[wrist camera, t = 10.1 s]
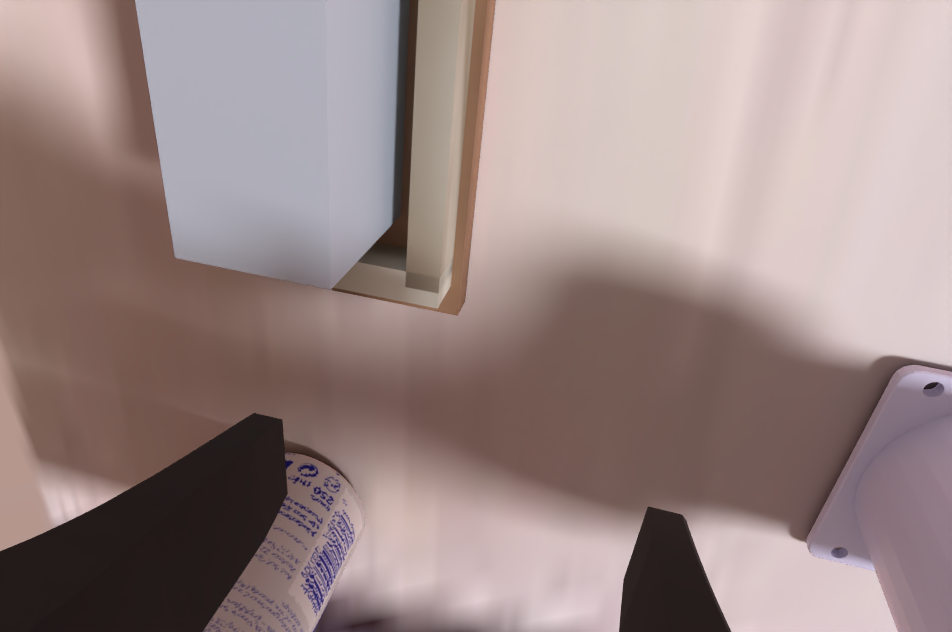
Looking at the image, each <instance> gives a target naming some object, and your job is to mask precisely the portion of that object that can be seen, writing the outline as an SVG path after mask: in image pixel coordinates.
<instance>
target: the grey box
mask: <svg viewBox="0 0 952 632" xmlns="http://www.w3.org/2000/svg"><path fill="white" fill-rule="evenodd" d="M135 4H136V10H137V17H138V23H139V29H140V36H141V42H142V49H143V55H144V62H145V68H146V75H147V81H148V88H149V94H150V100H151V107H152V113H153V120H154V126H155V133H156V139H157V146H158V152H159V158H160V165H161V171H162V178H163V184H164V191H165V197H166V204H167V210H168V216H169V223H170V229H171V236H172V242H173V249H174V255H175V258H177V259H182V260H187V261H192V262H197V263H202V264H207V265H211V266H216V267H221V268H226V269H231V270H236V271H241V272H245V273H250V274H255V275H260V276H265V277H270V278H275V279H279V280H284V281H289V282H294V283H299V284H304V285H309V286H313V287H318V288H323V289H328V290H331V289H332V288H333V287H334V286H335V285H336V284H337V283H338V282H339V281H340V279H341V278H342V277H343V276H344V275H345V274H346V273H347V272H348V271H349V270H350V269H351V268H352V267H353V266H354V265H355V264H356V262H357V261H358V260H359V259H360V258H361V257H362V256H363V255H364V254H365V253H366V252H367V251H368V250H369V249H370V248H371V247H372V245H373V244H374V243H375V242H376V241H377V240H378V239H379V238H380V237H381V236H382V235H383V234H384V233H385V232H386V231H387V229H388V228H389V227H390V226H391V225H392V224H393V223H394V222H395V221H396V220H397V219H398V218H399V217H400V216H401V195H402V172H403V148H404V124H405V101H406V77H407V53H408V29H409V6H410V0H135Z"/></svg>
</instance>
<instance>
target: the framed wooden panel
mask: <svg viewBox="0 0 952 632" xmlns="http://www.w3.org/2000/svg"><path fill="white" fill-rule="evenodd" d="M494 10H495V0H410V6H409V29H408V53H407V77H406V101H405V124H404V148H403V172H402V195H401V216H400V217H399V218H398V219H397V220H396V221H395V222H394V223H393V224H392V225H391V226H390V227H389V228H388V229H387V231H386V232H385V233H384V234H383V235H382V236H381V237H380V238H379V239H378V240H377V241H376V242H375V243H374V244H373V245H372V247H371V248H370V249H369V250H368V251H367V252H366V253H365V254H364V255H363V256H362V257H361V258H360V259H359V260H358V261H357V262H356V264H355V265H354V266H353V267H352V268H351V269H350V270H349V271H348V272H347V273H346V274H345V275H344V276H343V277H342V278H341V279H340V281H339V282H338V283H337V284H336V285H335V286H334V287H333V288H332V289H331V290H334V291H339V292H344V293H349V294H354V295H359V296H364V297H369V298H374V299H378V300H383V301H388V302H393V303H398V304H403V305H408V306H413V307H418V308H423V309H428V310H433V311H437V312H442V313H447V314H452V315H458V314H459V312H460V310H461V308H462V306H463V304H464V302H465V296H466V286H467V276H468V267H469V257H470V247H471V237H472V227H473V217H474V207H475V198H476V188H477V178H478V168H479V158H480V148H481V138H482V129H483V119H484V109H485V99H486V89H487V79H488V69H489V60H490V50H491V40H492V30H493V20H494Z"/></svg>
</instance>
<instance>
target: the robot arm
mask: <svg viewBox="0 0 952 632" xmlns="http://www.w3.org/2000/svg"><path fill="white" fill-rule="evenodd" d="M932 382H939V384H938V385H937V386H936V387H934V388H932V389H924V387H925V386H926V385H927V384H929V383H932ZM287 494H288V490H287V476H286V463H285V449H284V435H283V422H282V420H281V419H277V418H273V417H269V416H265V415H260V414H256V413H254V414H252V415H250V416H249V417H247V418H245V419H244V420H242V421H240V422H239V423H237V424H236V425H234V426H233V427H231V428H229V429H228V430H226V431H225V432H223V433H221V434H220V435H218V436H217V437H215V438H214V439H212V440H210V441H209V442H207V443H206V444H204V445H202V446H201V447H199V448H198V449H196V450H195V451H193V452H191V453H190V454H188V455H187V456H185V457H183V458H182V459H180V460H178V461H177V462H175V463H173V464H172V465H170V466H169V467H167V468H165V469H164V470H162V471H160V472H159V473H157V474H155V475H154V476H152V477H150V478H148V479H147V480H145V481H143V482H141V483H139V484H138V485H136V486H134V487H132V488H130V489H129V490H127V491H125V492H123V493H122V494H120V495H118V496H116V497H114V498H113V499H111V500H109V501H107V502H105V503H104V504H102V505H100V506H98V507H96V508H94V509H92V510H90V511H88V512H86V513H84V514H82V515H80V516H78V517H76V518H74V519H72V520H70V521H68V522H66V523H64V524H62V525H60V526H57V527H55V528H53V529H51V530H49V531H47V532H45V533H43V534H40V535H38V536H36V537H34V538H32V539H29V540H27V541H24V542H22V543H19V544H17V545H15V546H12V547H10V548H7V549H5V550H2V551H0V632H203V630H204V629H205V628H206V626H207V625H208V623H209V622H210V620H211V619H212V617H213V616H214V614H215V613H216V611H217V610H218V608H219V607H220V605H221V604H222V602H223V601H224V600H225V598H226V597H227V595H228V594H229V592H230V591H231V589H232V588H233V586H234V585H235V583H236V582H237V580H238V579H239V577H240V576H241V574H242V573H243V571H244V570H245V568H246V567H247V565H248V564H249V562H250V561H251V559H252V558H253V556H254V555H255V553H256V552H257V550H258V549H259V547H260V546H261V544H262V543H263V541H264V540H265V538H266V536H267V534H268V532H269V530H270V528H271V526H272V524H273V523H274V521H275V519H276V517H277V515H278V513H279V511H280V509H281V507H282V504H283V502H284V500H285V498H286V496H287ZM806 543H807V547H808V550H809V552H810V553H811V554H812V555H813V556H816V557H818V558H822V559H826V560H830V561H835V562H839V563H843V564H847V565H851V566H855V567H860V568H864V569H868V570H872V571H876V574H877V576H878V579H879V582H880V584H881V587H882V590H883V592H884V595H885V598H886V600H887V603H888V606H889V609H890V611H891V614H892V617H893V619H894V622H895V625H896V627H897V630H898V632H952V372H951V371H946V370H940V369H935V368H930V367H925V366H920V365H909V366H905V367H902V368H900V369H899V370H897V371H896V372H895V373H894V375H893V376H892V378H891V380H890V382H889V383H888V385H887V387H886V389H885V391H884V393H883V395H882V397H881V399H880V400H879V402H878V404H877V406H876V408H875V410H874V412H873V414H872V416H871V417H870V419H869V421H868V423H867V425H866V427H865V429H864V431H863V433H862V435H861V436H860V438H859V440H858V442H857V444H856V446H855V448H854V450H853V452H852V453H851V455H850V457H849V459H848V461H847V463H846V465H845V467H844V469H843V470H842V472H841V474H840V476H839V478H838V480H837V482H836V484H835V486H834V487H833V489H832V491H831V493H830V495H829V497H828V499H827V501H826V503H825V505H824V506H823V508H822V510H821V512H820V514H819V516H818V518H817V520H816V522H815V523H814V525H813V527H812V529H811V531H810V533H809V535H808V537H807V540H806ZM837 547H842V548H841V549H834V548H837ZM619 632H731V630H730V628H729V626H728V624H727V621H726V619H725V617H724V615H723V613H722V611H721V608H720V606H719V604H718V602H717V600H716V597H715V595H714V593H713V590H712V588H711V585H710V583H709V581H708V578H707V576H706V573H705V571H704V568H703V566H702V563H701V561H700V558H699V555H698V553H697V550H696V547H695V545H694V542H693V539H692V536H691V533H690V531H689V528H688V524H687V521H686V520H685V518H684V517H683V515H681V514H677V513H673V512H669V511H664V510H660V509H656V508H652V507H648V508H647V511H646V514H645V517H644V520H643V523H642V526H641V529H640V532H639V535H638V538H637V541H636V544H635V547H634V550H633V553H632V556H631V559H630V562H629V565H628V568H627V571H626V574H625V577H624V582H623V593H622V604H621V616H620V628H619Z"/></svg>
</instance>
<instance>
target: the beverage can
mask: <svg viewBox="0 0 952 632" xmlns="http://www.w3.org/2000/svg"><path fill="white" fill-rule="evenodd" d="M285 463H286V476H287V490H288V494H287V496H286V498H285V500H284V502H283V504H282V507H281V509H280V511H279V513H278V515H277V517H276V519H275V521H274V523H273V524H272V526H271V528H270V530H269V532H268V534H267V536H266V538H265V540H264V541H263V543H262V544H261V546H260V547H259V549H258V550H257V552H256V553H255V555H254V556H253V558H252V559H251V561H250V562H249V564H248V565H247V567H246V568H245V570H244V571H243V573H242V574H241V576H240V577H239V579H238V580H237V582H236V583H235V585H234V586H233V588H232V589H231V591H230V592H229V594H228V595H227V597H226V598H225V600H224V601H223V602H222V604H221V605H220V607H219V608H218V610H217V611H216V613H215V614H214V616H213V617H212V619H211V620H210V622H209V623H208V625H207V626H206V628H205V629H204V630H203V632H314V630H315V628H316V626H317V624H318V622H319V620H320V618H321V616H322V614H323V612H324V610H325V608H326V606H327V604H328V602H329V600H330V598H331V595H332V593H333V591H334V589H335V587H336V585H337V583H338V581H339V579H340V577H341V575H342V573H343V571H344V569H345V567H346V565H347V563H348V561H349V559H350V557H351V555H352V553H353V551H354V549H355V546H356V544H357V542H358V540H359V538H360V536H361V534H362V532H363V530H364V526H365V513H364V509H363V506H362V503H361V501H360V499H359V497H358V495H357V493H356V492H355V490H354V489H353V487H352V486H351V485H350V484H349V483H348V482H347V480H346V479H345V478H344V477H343V476H341V475H340V474H339V473H338V472H337V471H335V470H334V469H333V468H331V467H330V466H328V465H326V464H324V463H322V462H321V461H319V460H317V459H314V458H311V457H308V456H306V455H302V454H296V453H285Z"/></svg>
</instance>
